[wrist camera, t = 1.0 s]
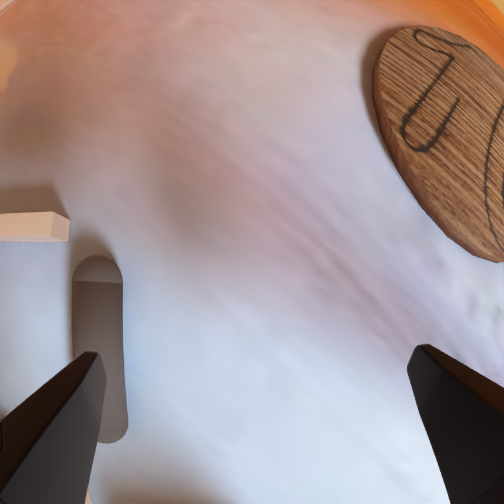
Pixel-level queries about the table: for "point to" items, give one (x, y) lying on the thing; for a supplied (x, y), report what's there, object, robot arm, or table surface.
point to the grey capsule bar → (102, 335)
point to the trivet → (446, 132)
